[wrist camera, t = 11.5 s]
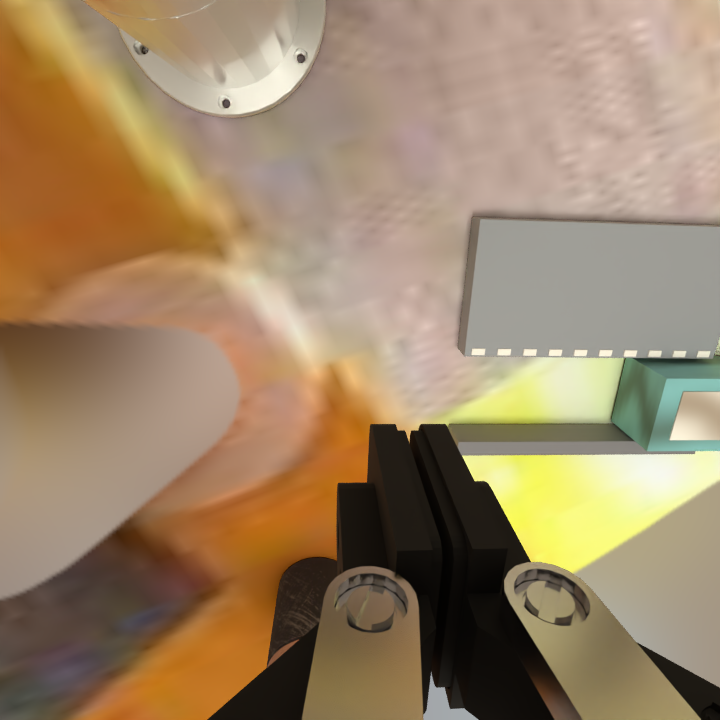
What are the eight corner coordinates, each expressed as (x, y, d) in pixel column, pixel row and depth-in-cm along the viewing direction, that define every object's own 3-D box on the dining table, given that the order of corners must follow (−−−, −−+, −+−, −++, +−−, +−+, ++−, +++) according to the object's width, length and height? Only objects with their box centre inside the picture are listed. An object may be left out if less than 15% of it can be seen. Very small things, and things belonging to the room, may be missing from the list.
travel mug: (267, 609, 47) (230, 894, 28) (287, 547, 45) (262, 812, 26) (343, 623, 48) (357, 903, 30) (367, 563, 46) (398, 827, 27)
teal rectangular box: (626, 354, 40) (667, 379, 36) (741, 356, 41) (796, 379, 36) (611, 420, 42) (647, 451, 38) (720, 420, 43) (770, 451, 38)
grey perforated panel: (472, 216, 36) (484, 220, 33) (731, 225, 37) (764, 229, 35) (447, 436, 42) (456, 455, 39) (670, 435, 44) (694, 453, 41)
